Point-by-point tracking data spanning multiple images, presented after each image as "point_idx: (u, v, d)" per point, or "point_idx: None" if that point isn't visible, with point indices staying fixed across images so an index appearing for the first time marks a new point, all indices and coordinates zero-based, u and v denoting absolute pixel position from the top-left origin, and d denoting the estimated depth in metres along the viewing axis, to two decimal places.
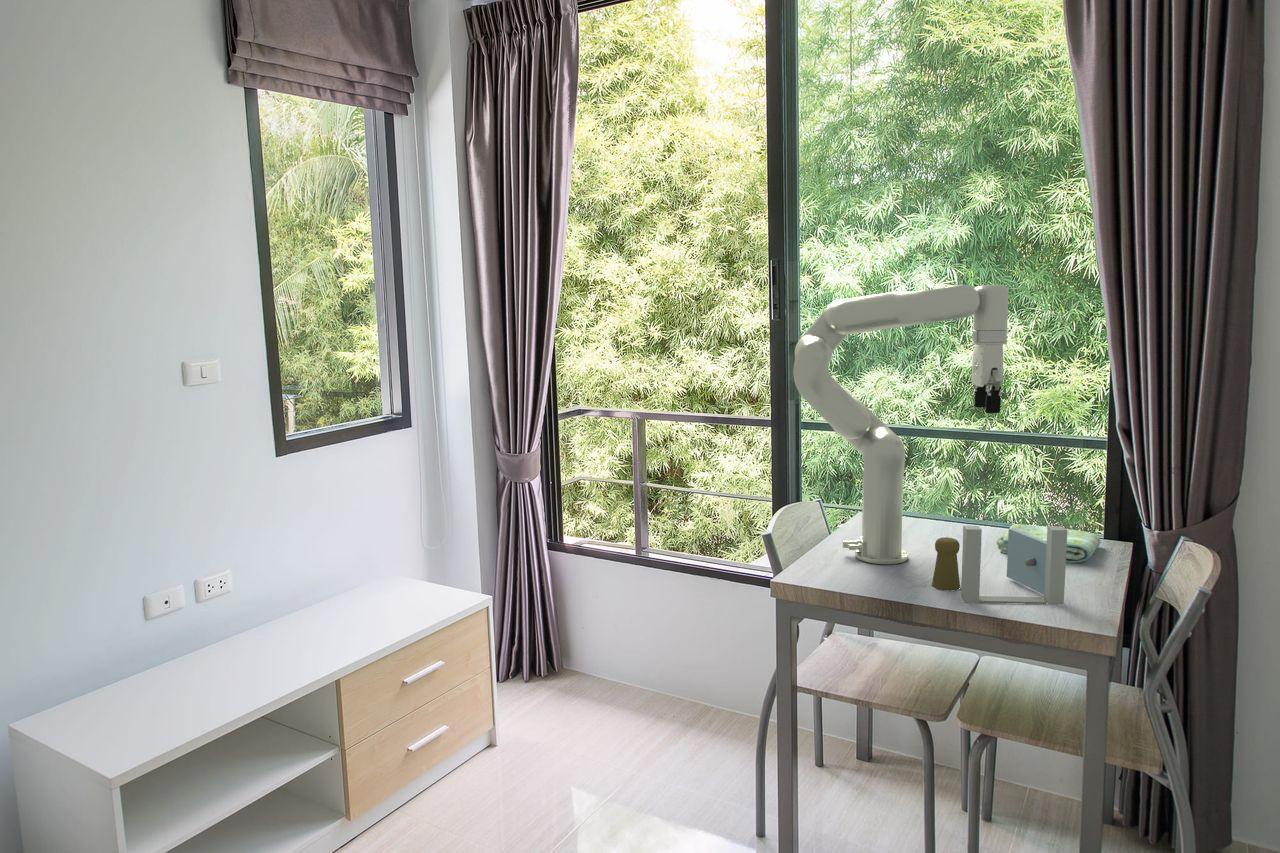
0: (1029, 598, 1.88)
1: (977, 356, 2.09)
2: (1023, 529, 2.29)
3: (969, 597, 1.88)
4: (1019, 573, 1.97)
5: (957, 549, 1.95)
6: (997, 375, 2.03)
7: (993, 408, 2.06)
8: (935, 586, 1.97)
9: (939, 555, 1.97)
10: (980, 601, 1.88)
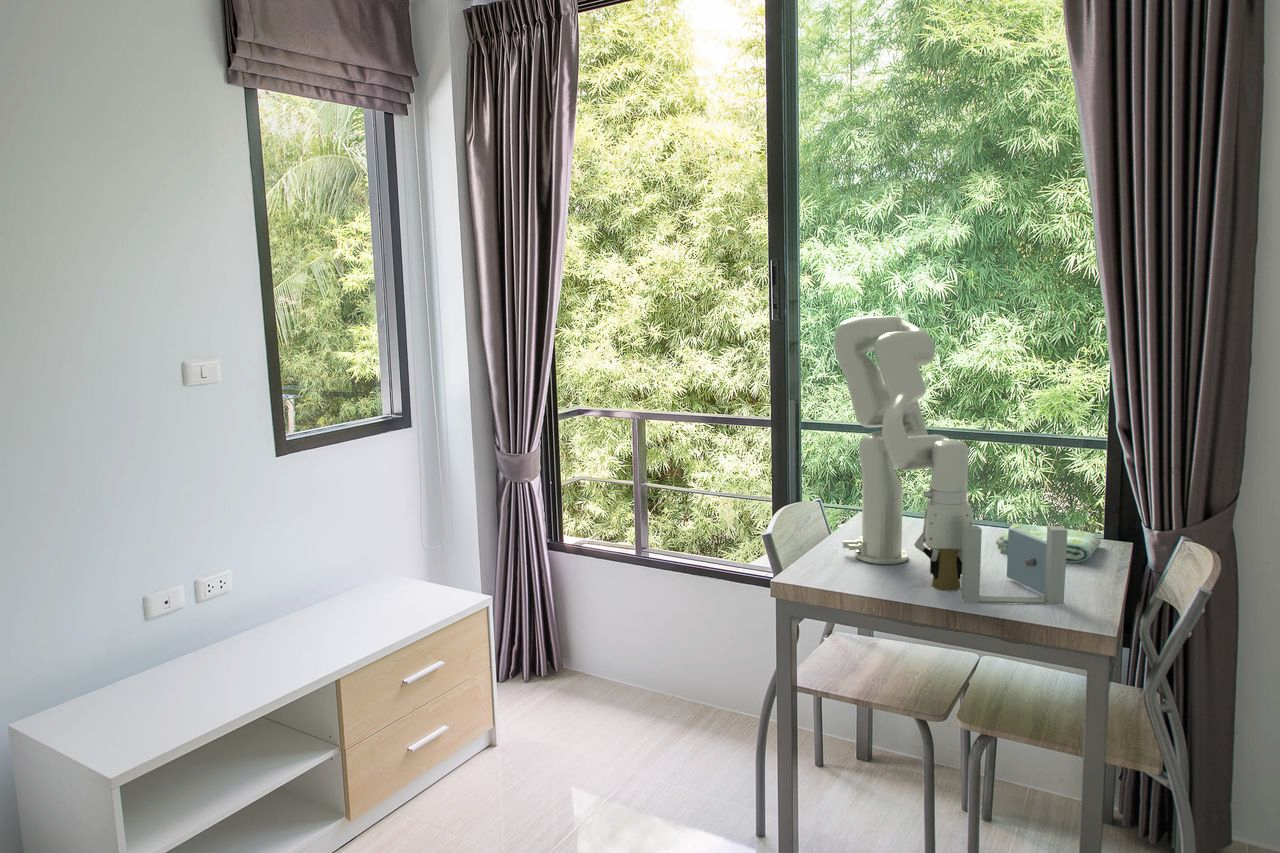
0: (1029, 598, 1.88)
1: (955, 519, 1.93)
2: (1023, 529, 2.30)
3: (969, 597, 1.88)
4: (1019, 573, 1.97)
5: None
6: None
7: None
8: (935, 586, 1.97)
9: (939, 555, 1.97)
10: (980, 601, 1.88)
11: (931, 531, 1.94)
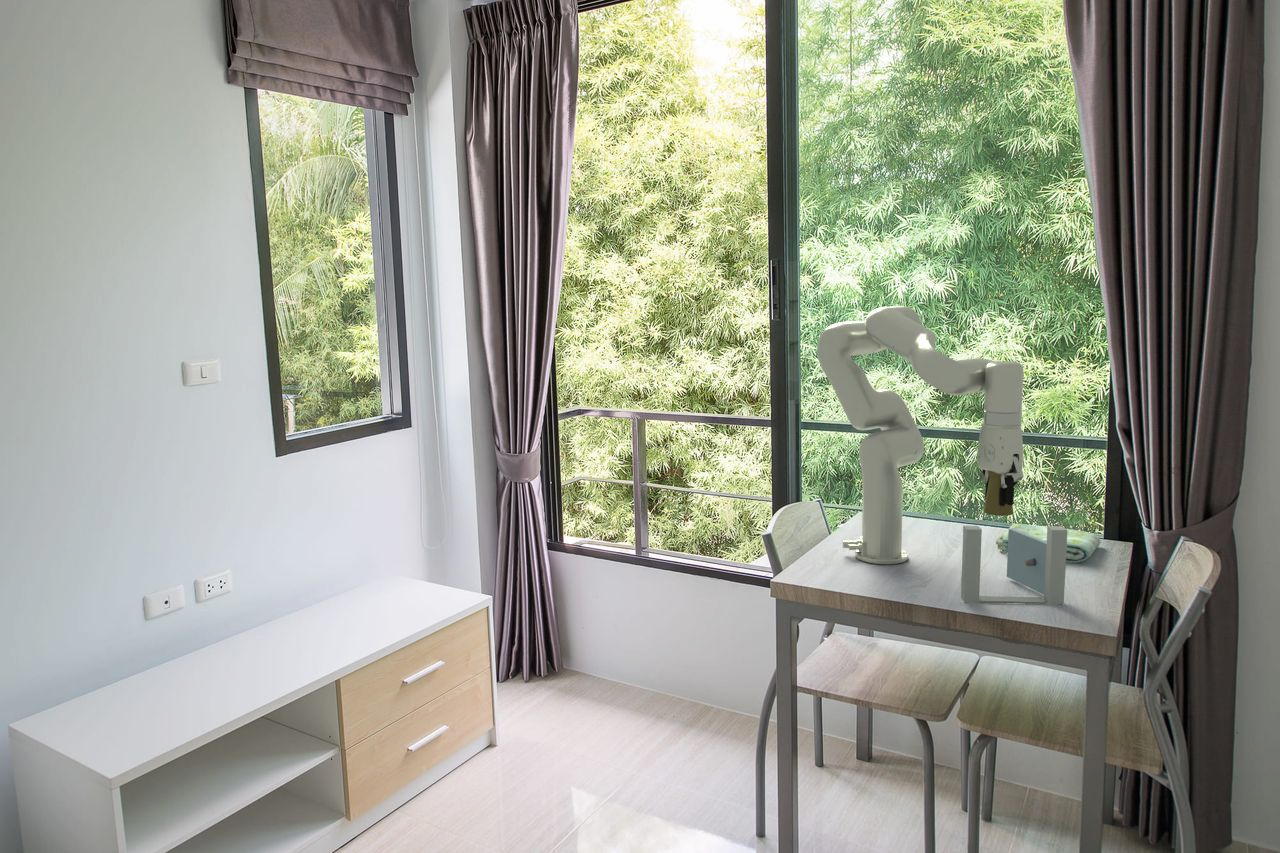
0: (1029, 598, 1.88)
1: (992, 440, 1.90)
2: (1023, 529, 2.30)
3: (969, 597, 1.88)
4: (1019, 573, 1.97)
5: None
6: (1019, 470, 1.86)
7: (1008, 501, 1.90)
8: None
9: None
10: (980, 601, 1.88)
11: (979, 449, 1.95)
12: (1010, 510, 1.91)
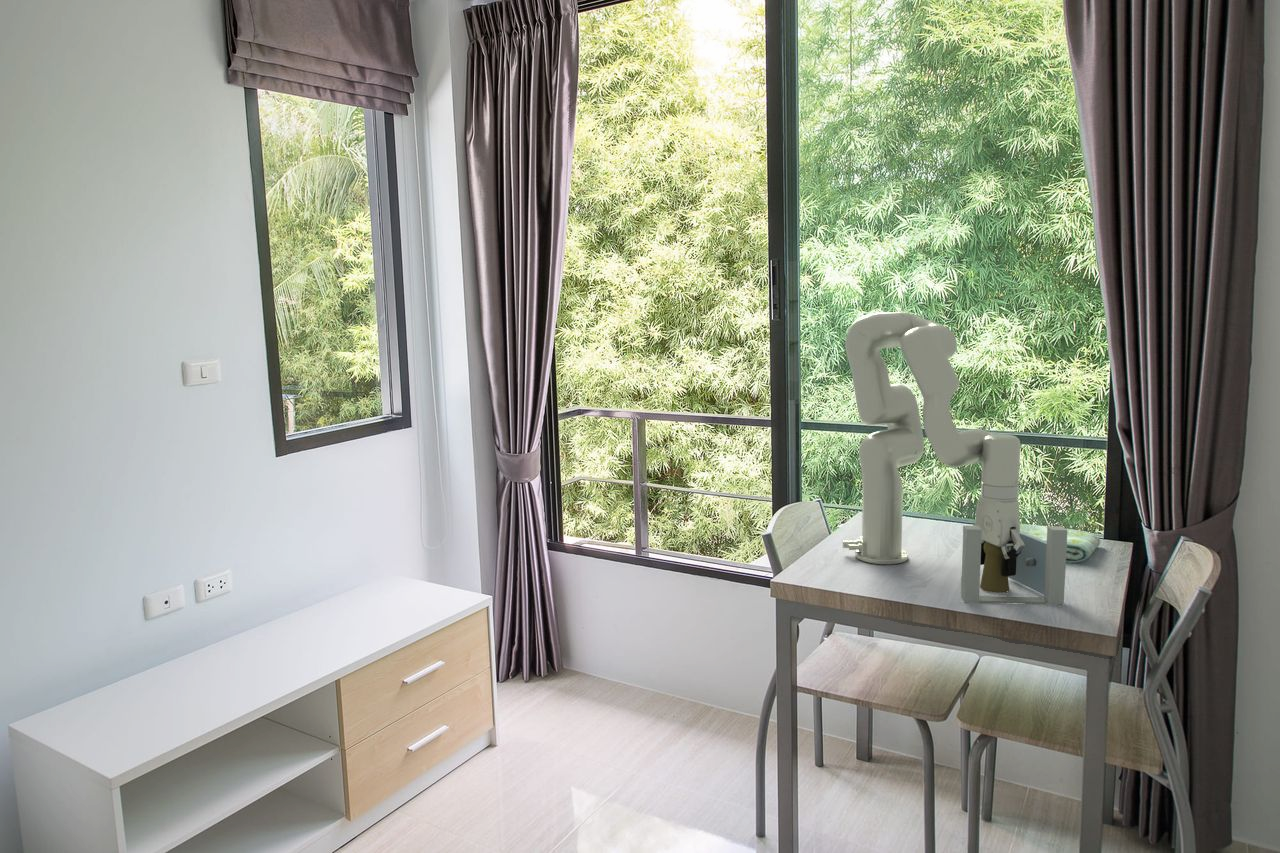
0: (1029, 598, 1.88)
1: (989, 512, 1.92)
2: (1023, 529, 2.30)
3: (969, 597, 1.88)
4: (1019, 573, 1.97)
5: (994, 551, 1.93)
6: (1019, 539, 1.87)
7: (1010, 571, 1.90)
8: None
9: None
10: (980, 601, 1.88)
11: (976, 519, 1.97)
12: (1006, 587, 1.94)
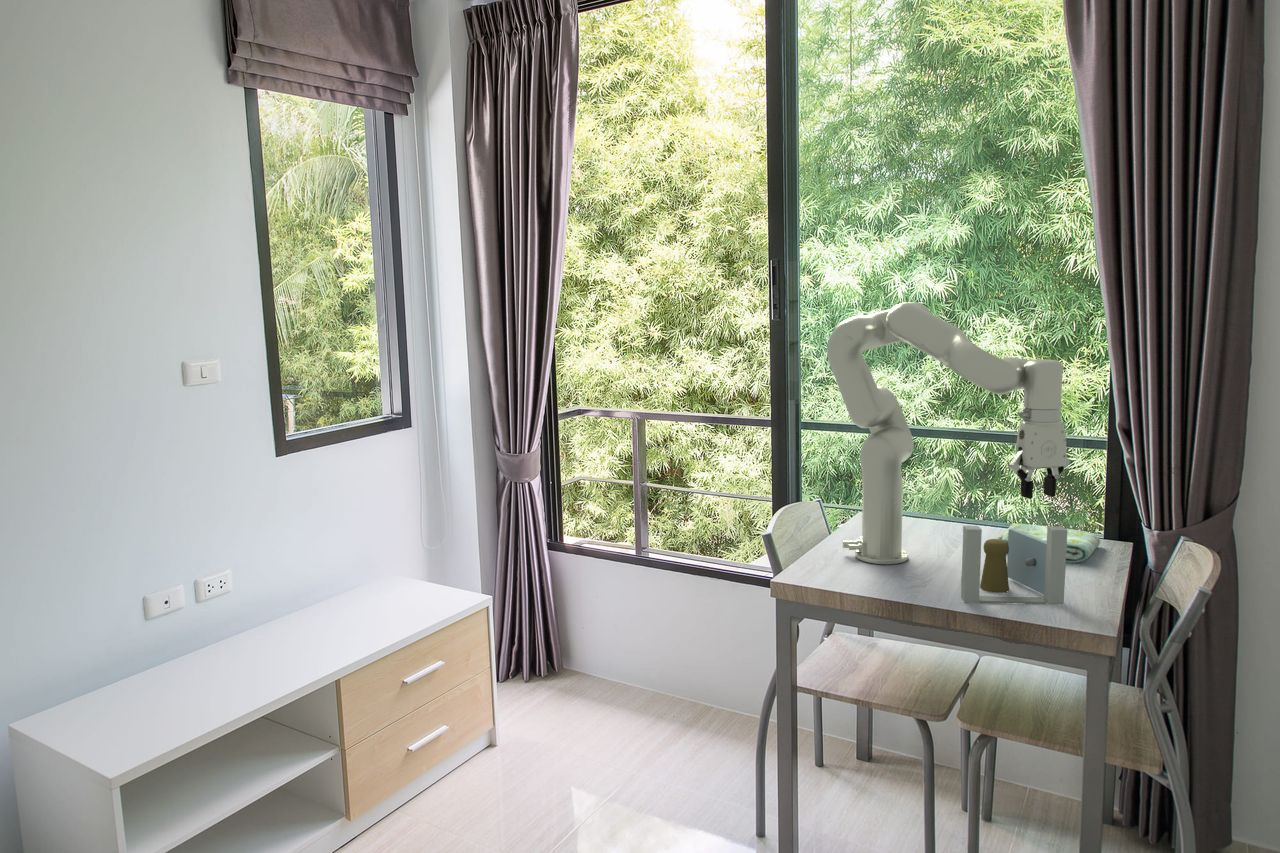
0: (1029, 598, 1.88)
1: (1052, 436, 1.94)
2: (1023, 529, 2.30)
3: (969, 597, 1.88)
4: (1019, 573, 1.97)
5: (994, 551, 1.93)
6: None
7: None
8: None
9: None
10: (980, 601, 1.88)
11: (1032, 451, 1.93)
12: (1006, 587, 1.94)
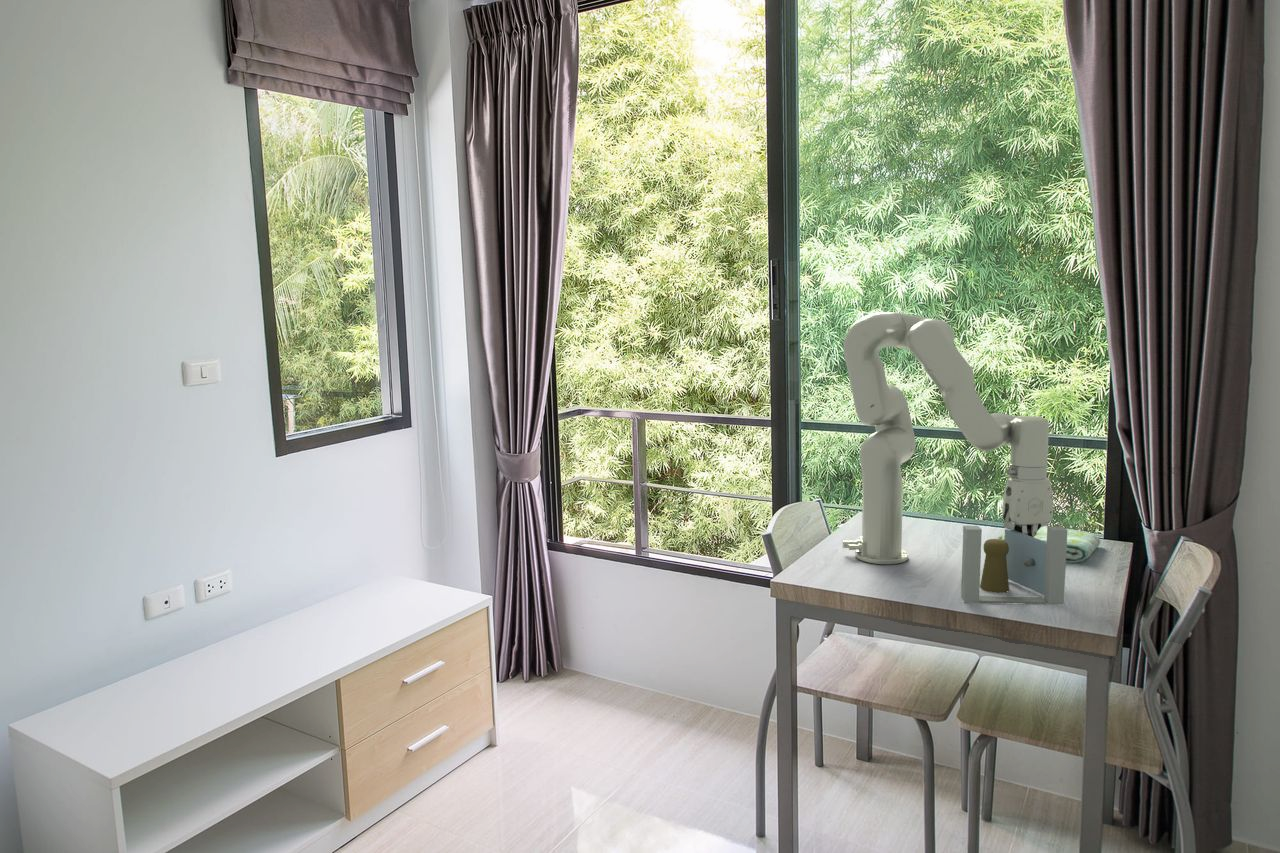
0: (1029, 598, 1.88)
1: (1039, 493, 1.95)
2: None
3: (969, 597, 1.88)
4: (1016, 573, 1.97)
5: (993, 551, 1.93)
6: None
7: None
8: None
9: None
10: (980, 601, 1.88)
11: (1018, 508, 1.95)
12: (1006, 587, 1.94)
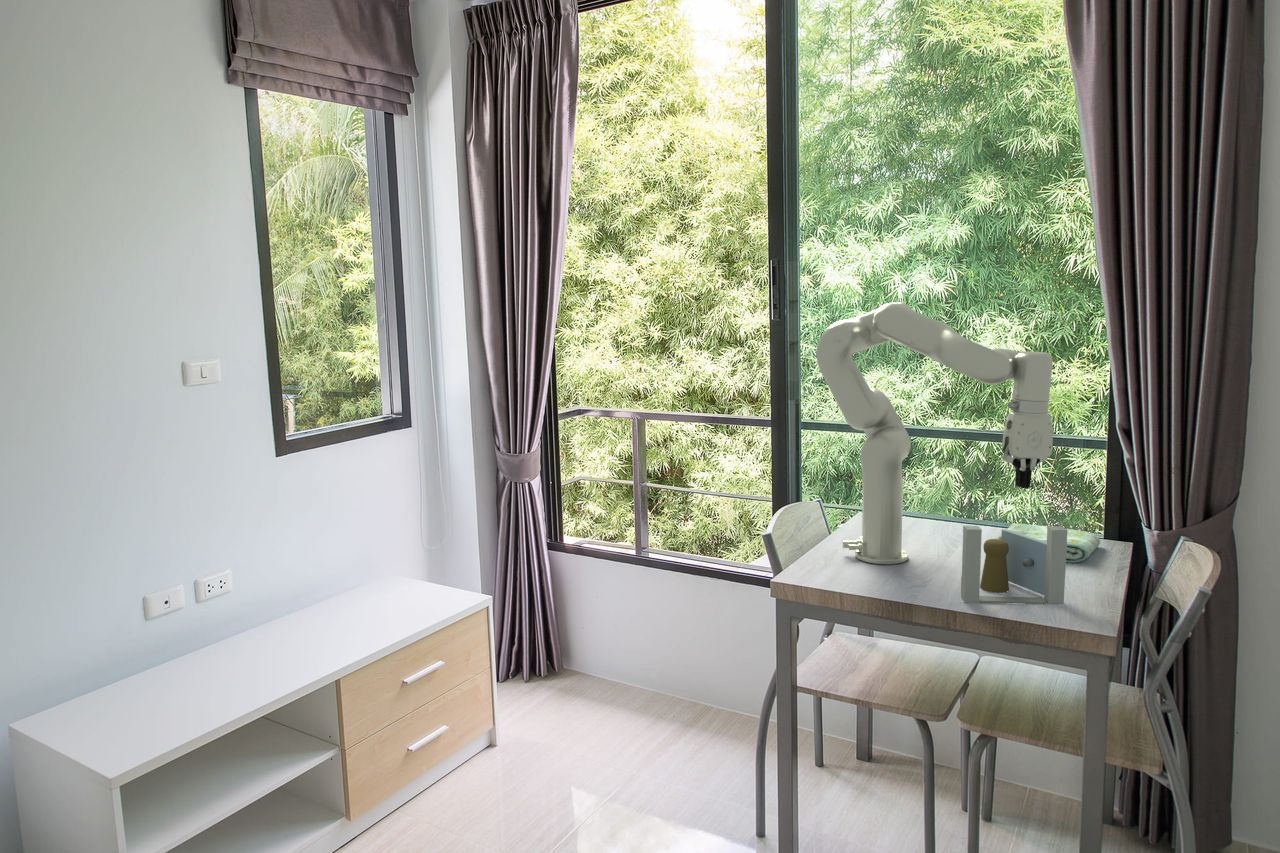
0: (1029, 598, 1.88)
1: (1039, 427, 1.98)
2: (1023, 529, 2.30)
3: (969, 597, 1.88)
4: (1014, 574, 1.96)
5: (993, 551, 1.93)
6: None
7: None
8: None
9: None
10: (980, 601, 1.88)
11: (1018, 441, 1.97)
12: (1006, 587, 1.94)
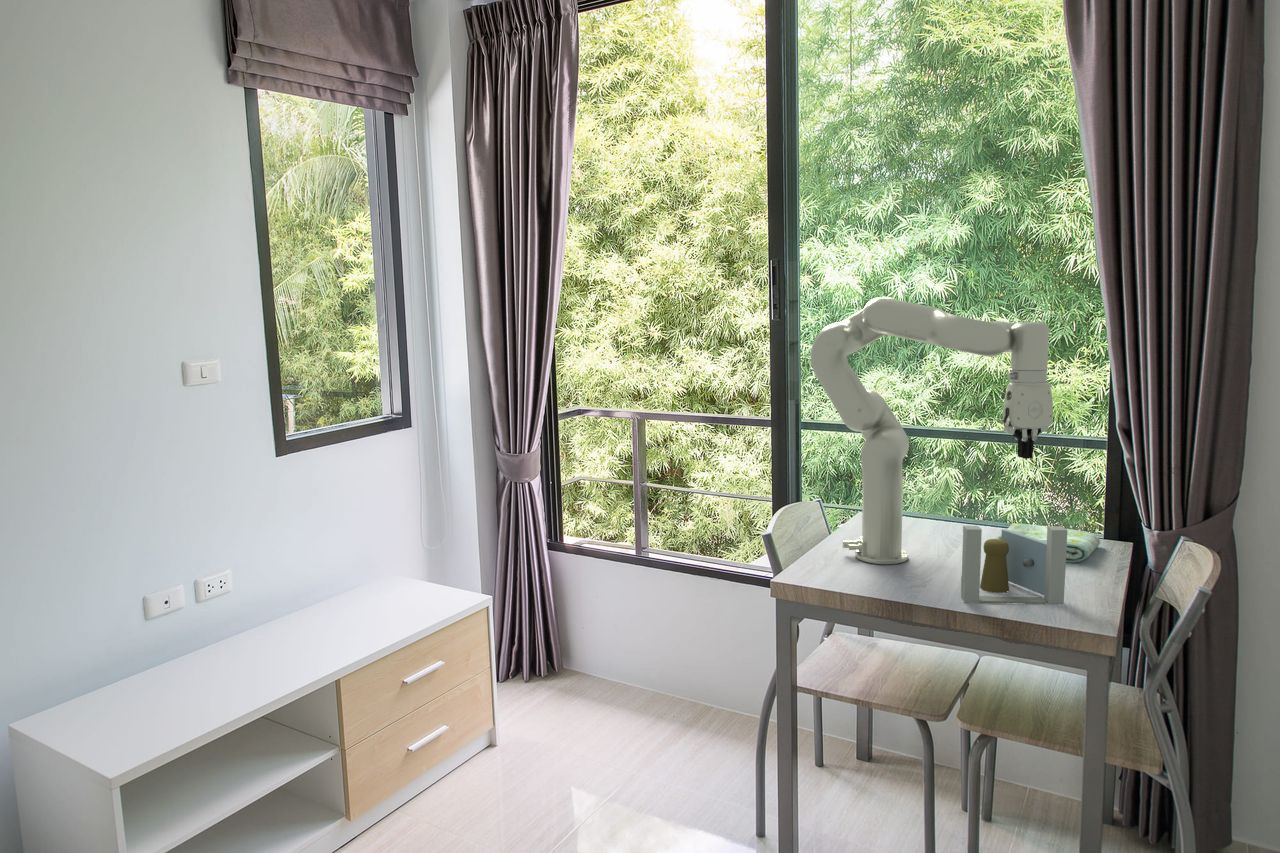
0: (1029, 598, 1.88)
1: (1039, 397, 1.98)
2: (1023, 528, 2.30)
3: (969, 597, 1.88)
4: (1014, 574, 1.96)
5: (993, 551, 1.93)
6: None
7: None
8: None
9: None
10: (980, 601, 1.88)
11: (1019, 411, 1.98)
12: (1006, 587, 1.94)
